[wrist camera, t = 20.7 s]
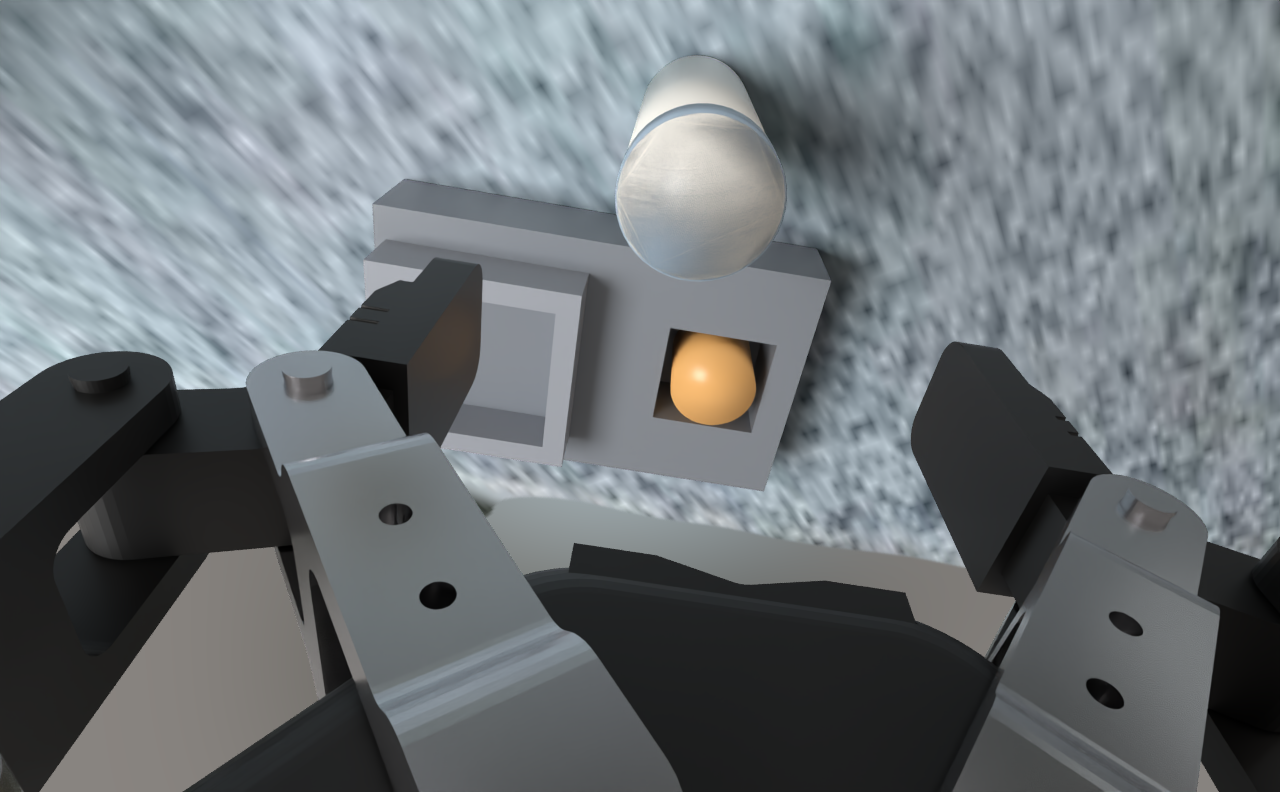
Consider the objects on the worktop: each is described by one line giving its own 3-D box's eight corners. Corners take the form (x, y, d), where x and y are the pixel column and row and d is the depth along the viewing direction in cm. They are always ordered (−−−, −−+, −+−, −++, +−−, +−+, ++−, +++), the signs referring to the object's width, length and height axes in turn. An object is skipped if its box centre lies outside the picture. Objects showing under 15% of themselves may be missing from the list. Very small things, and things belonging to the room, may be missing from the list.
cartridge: (685, 193, 33) (686, 311, 22) (617, 107, 31) (580, 189, 20) (772, 122, 31) (820, 213, 20) (705, 27, 29) (717, 70, 18)
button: (757, 321, 36) (765, 359, 32) (739, 388, 38) (744, 430, 34) (679, 308, 35) (679, 345, 32) (666, 376, 38) (663, 417, 34)
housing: (816, 248, 34) (842, 304, 29) (757, 446, 40) (768, 523, 35) (404, 179, 33) (348, 222, 28) (409, 391, 40) (364, 460, 34)
